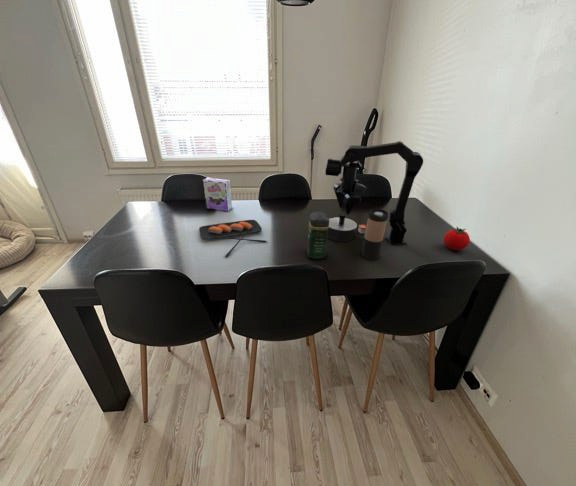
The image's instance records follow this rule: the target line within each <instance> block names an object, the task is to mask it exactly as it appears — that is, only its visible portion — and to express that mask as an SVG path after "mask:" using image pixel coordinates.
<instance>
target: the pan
mask: <svg viewBox="0 0 576 486" xmlns="http://www.w3.org/2000/svg"><path fill="white" fill-rule="evenodd" d="M355 235H356V229H354V230H352V231H336V230H333V229H331V228H329V229H328V237H327V239H330V240H332V241H336V242H349V241H352V240H353V239H354V238H355Z"/></svg>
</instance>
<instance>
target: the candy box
mask: <svg viewBox="0 0 576 486" xmlns="http://www.w3.org/2000/svg"><path fill="white" fill-rule="evenodd" d="M202 185H203V192H204V200H205V207H206V209H210V210H214V211H219V212H230V211H231V210H232V209H233V202H232V201H233V200H232V187H231V180H230V179H223V178H215V177H210V176H207V177H205V178H204V179H202Z"/></svg>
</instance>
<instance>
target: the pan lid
mask: <svg viewBox="0 0 576 486" xmlns="http://www.w3.org/2000/svg"><path fill="white" fill-rule="evenodd" d="M357 227H358V224H357V222H356V221H354V220H353V219H350V218H348V217H347V218H346V213H340V214H339V217H330V218H329V228H331V229H333V230H336V231H352V230H354V229H355V230H356V229H357Z"/></svg>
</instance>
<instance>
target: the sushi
mask: <svg viewBox="0 0 576 486" xmlns="http://www.w3.org/2000/svg"><path fill="white" fill-rule="evenodd" d="M366 226H367V223H365V224H358V229H357V232H358V233H359V234H360V235H362V234H364V235H365V231H366Z"/></svg>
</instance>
